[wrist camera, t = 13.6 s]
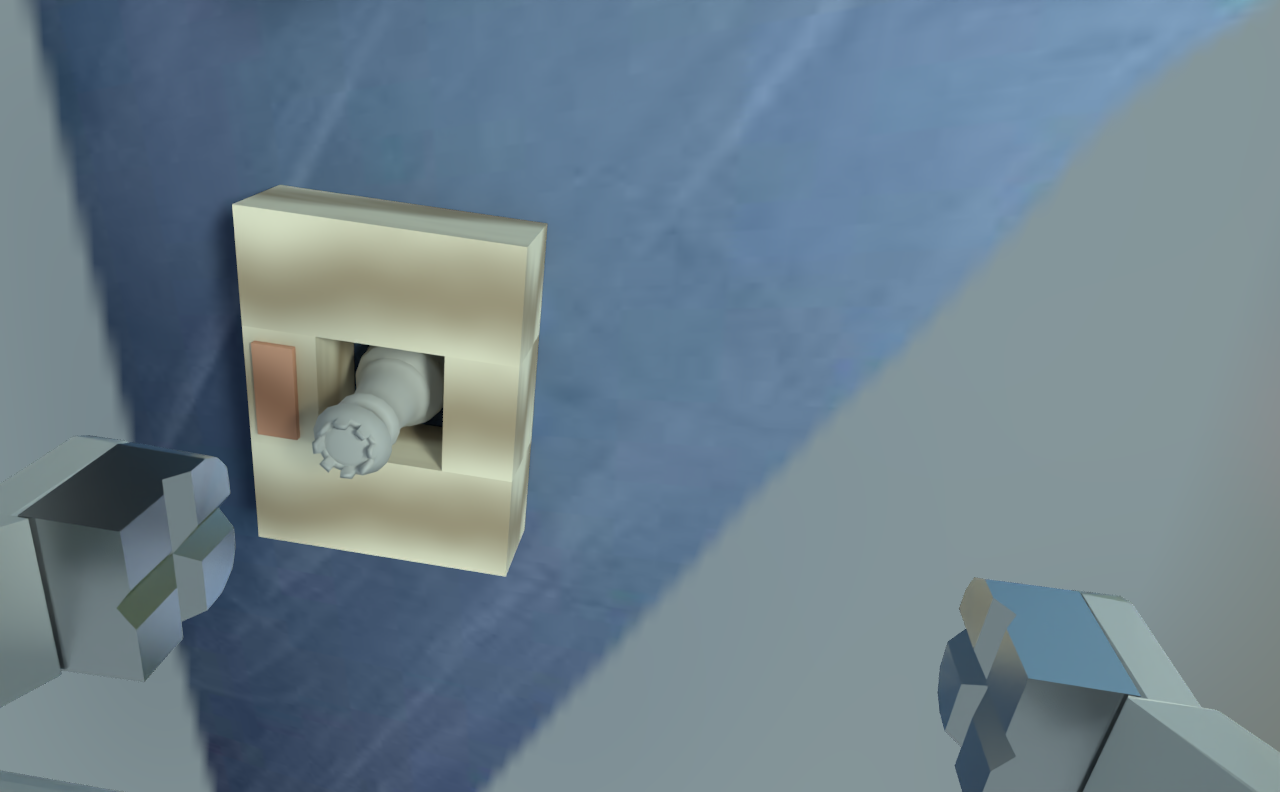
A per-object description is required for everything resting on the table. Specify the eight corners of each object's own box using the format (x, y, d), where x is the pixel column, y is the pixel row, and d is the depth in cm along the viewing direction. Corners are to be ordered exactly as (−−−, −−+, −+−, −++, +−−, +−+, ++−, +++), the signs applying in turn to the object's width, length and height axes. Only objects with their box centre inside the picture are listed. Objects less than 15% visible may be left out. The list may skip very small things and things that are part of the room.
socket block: (279, 184, 38) (228, 205, 34) (547, 223, 38) (525, 249, 34) (297, 493, 45) (255, 540, 41) (524, 529, 45) (504, 580, 41)
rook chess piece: (361, 399, 42) (284, 483, 35) (371, 316, 40) (291, 386, 33) (449, 423, 42) (391, 511, 35) (464, 342, 41) (405, 417, 33)
